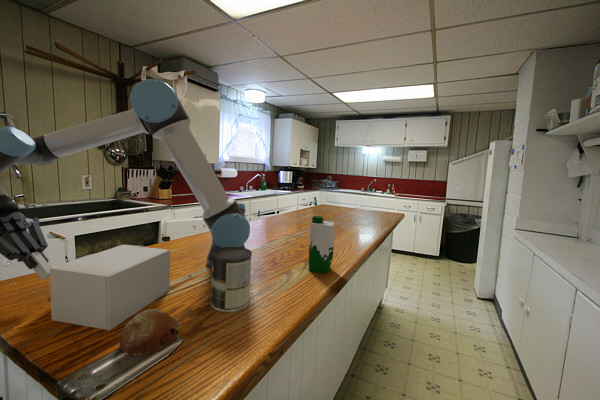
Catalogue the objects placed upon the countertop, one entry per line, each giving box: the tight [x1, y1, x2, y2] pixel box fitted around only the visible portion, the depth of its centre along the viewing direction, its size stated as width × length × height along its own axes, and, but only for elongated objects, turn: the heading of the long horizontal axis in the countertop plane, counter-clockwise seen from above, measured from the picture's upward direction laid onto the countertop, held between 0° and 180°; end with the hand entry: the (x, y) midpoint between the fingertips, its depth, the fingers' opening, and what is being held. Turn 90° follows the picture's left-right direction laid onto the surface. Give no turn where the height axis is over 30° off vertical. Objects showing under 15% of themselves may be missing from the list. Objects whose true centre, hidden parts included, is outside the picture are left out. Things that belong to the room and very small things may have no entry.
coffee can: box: [210, 247, 253, 313], centre depth 72 cm, size 10×10×14 cm
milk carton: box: [308, 215, 335, 275], centre depth 100 cm, size 9×9×20 cm
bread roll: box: [118, 308, 180, 356], centre depth 55 cm, size 10×10×8 cm
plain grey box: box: [49, 244, 171, 331], centre depth 68 cm, size 15×20×12 cm
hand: (48, 275), depth 66 cm, fingers closed
